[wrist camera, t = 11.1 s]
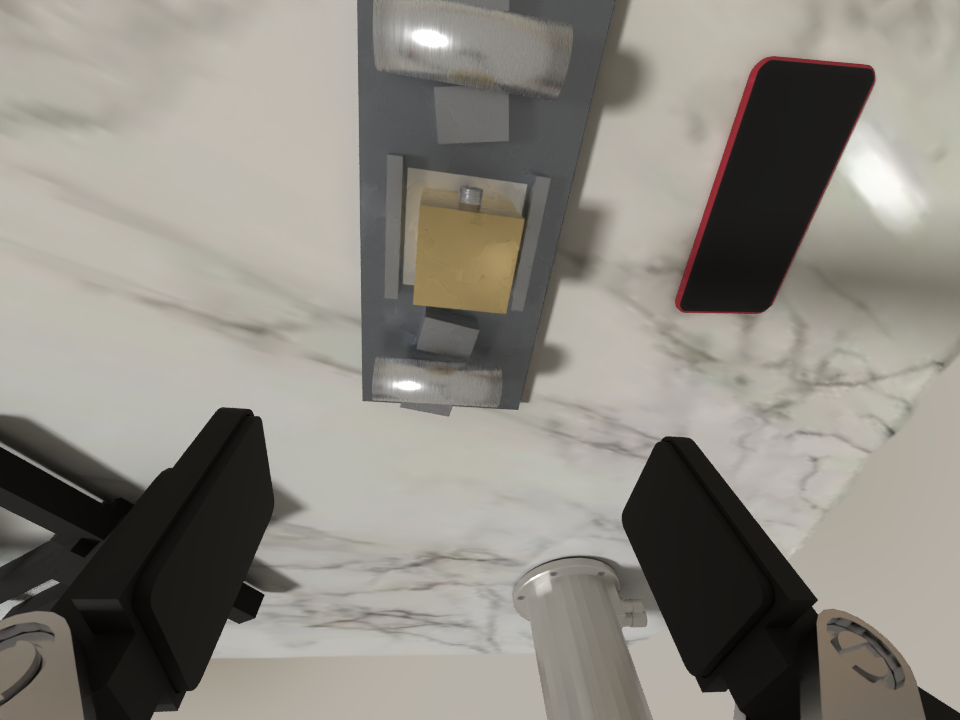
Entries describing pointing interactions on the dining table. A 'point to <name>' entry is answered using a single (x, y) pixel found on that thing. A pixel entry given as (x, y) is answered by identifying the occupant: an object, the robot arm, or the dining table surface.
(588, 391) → the dining table surface
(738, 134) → the smartphone
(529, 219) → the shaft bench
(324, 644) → the dining table surface
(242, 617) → the toy
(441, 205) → the block
